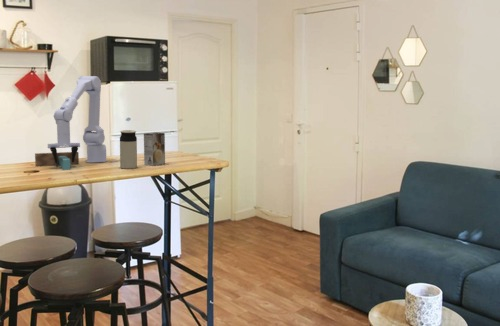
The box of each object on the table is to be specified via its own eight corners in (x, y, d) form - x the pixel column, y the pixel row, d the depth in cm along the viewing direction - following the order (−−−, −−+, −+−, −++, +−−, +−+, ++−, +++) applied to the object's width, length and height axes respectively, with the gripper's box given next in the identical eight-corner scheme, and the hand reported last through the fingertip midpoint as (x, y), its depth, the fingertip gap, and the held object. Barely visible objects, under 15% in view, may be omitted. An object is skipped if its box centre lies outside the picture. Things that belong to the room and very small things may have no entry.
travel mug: (120, 169, 246) (119, 131, 244) (120, 166, 254) (119, 130, 251) (137, 168, 248) (137, 131, 246) (136, 166, 256) (136, 130, 253)
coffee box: (156, 162, 269) (155, 132, 267) (165, 164, 266) (165, 132, 263) (143, 164, 261) (143, 133, 259) (153, 166, 258) (152, 134, 256)
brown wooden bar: (77, 163, 261) (77, 151, 260) (80, 165, 255) (79, 153, 255) (35, 165, 252) (34, 153, 251) (36, 167, 246) (36, 155, 245)
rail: (65, 165, 255) (65, 155, 254) (70, 170, 242) (70, 159, 242) (58, 165, 254) (58, 155, 253) (63, 170, 241) (63, 159, 240)
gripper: (48, 135, 239) (49, 164, 241) (80, 134, 245) (81, 162, 247) (46, 134, 245) (47, 162, 247) (78, 133, 252) (79, 160, 254)
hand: (64, 162), depth 248 cm, fingers open, 7 cm apart
